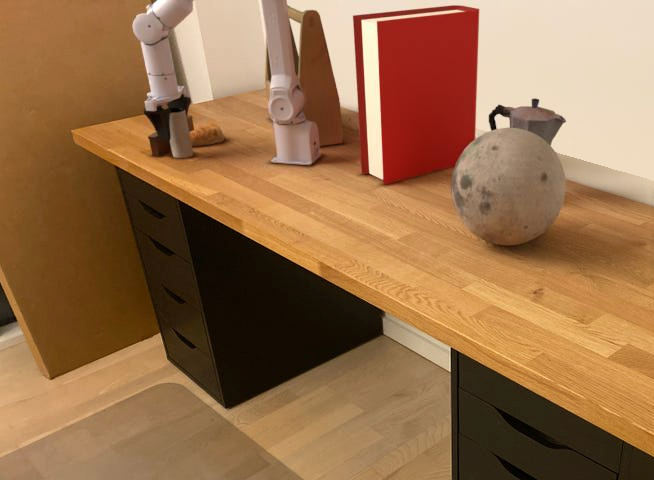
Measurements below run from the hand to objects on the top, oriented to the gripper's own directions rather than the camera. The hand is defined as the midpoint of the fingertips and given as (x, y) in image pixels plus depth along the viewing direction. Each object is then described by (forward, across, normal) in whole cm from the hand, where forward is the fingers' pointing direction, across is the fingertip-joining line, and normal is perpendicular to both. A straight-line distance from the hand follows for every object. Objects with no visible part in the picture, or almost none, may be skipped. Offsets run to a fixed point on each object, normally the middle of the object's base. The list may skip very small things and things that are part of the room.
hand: (173, 135), depth 165 cm
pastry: (+5, -10, +2) cm, 12 cm away
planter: (+5, 0, +1) cm, 5 cm away
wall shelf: (+4, -7, -4) cm, 9 cm away
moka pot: (+5, +10, +81) cm, 82 cm away
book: (+5, -4, +57) cm, 57 cm away
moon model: (+5, +32, +80) cm, 86 cm away
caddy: (+5, -25, +22) cm, 34 cm away
